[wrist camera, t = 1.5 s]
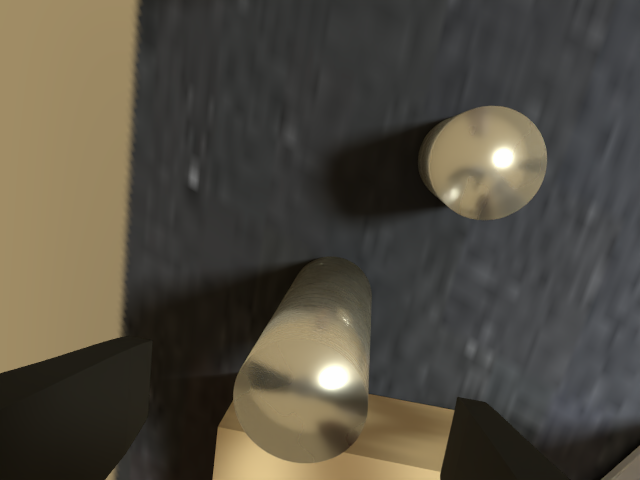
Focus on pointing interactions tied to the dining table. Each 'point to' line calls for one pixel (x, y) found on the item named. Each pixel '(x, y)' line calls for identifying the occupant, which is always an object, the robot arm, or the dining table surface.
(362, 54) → the dining table surface
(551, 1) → the dining table surface
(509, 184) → the short pin
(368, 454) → the pin block
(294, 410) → the tall pin
